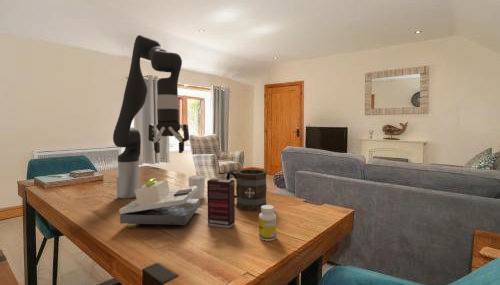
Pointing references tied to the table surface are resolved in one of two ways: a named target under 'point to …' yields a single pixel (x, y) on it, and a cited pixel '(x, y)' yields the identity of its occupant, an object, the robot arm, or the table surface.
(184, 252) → the table surface
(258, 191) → the mug
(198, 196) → the white cup
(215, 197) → the supplement box
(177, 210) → the grey tray
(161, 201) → the plate
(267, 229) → the supplement bottle
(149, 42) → the robot arm
